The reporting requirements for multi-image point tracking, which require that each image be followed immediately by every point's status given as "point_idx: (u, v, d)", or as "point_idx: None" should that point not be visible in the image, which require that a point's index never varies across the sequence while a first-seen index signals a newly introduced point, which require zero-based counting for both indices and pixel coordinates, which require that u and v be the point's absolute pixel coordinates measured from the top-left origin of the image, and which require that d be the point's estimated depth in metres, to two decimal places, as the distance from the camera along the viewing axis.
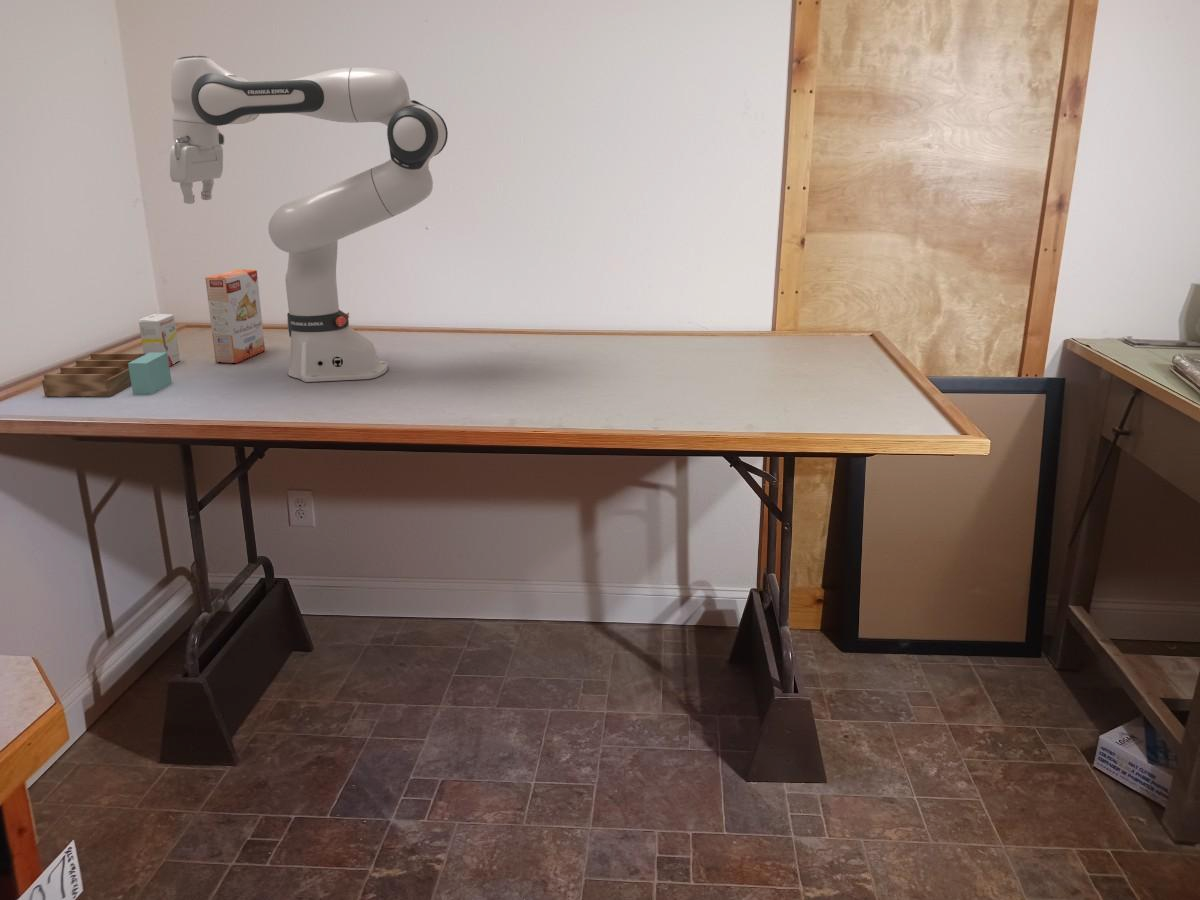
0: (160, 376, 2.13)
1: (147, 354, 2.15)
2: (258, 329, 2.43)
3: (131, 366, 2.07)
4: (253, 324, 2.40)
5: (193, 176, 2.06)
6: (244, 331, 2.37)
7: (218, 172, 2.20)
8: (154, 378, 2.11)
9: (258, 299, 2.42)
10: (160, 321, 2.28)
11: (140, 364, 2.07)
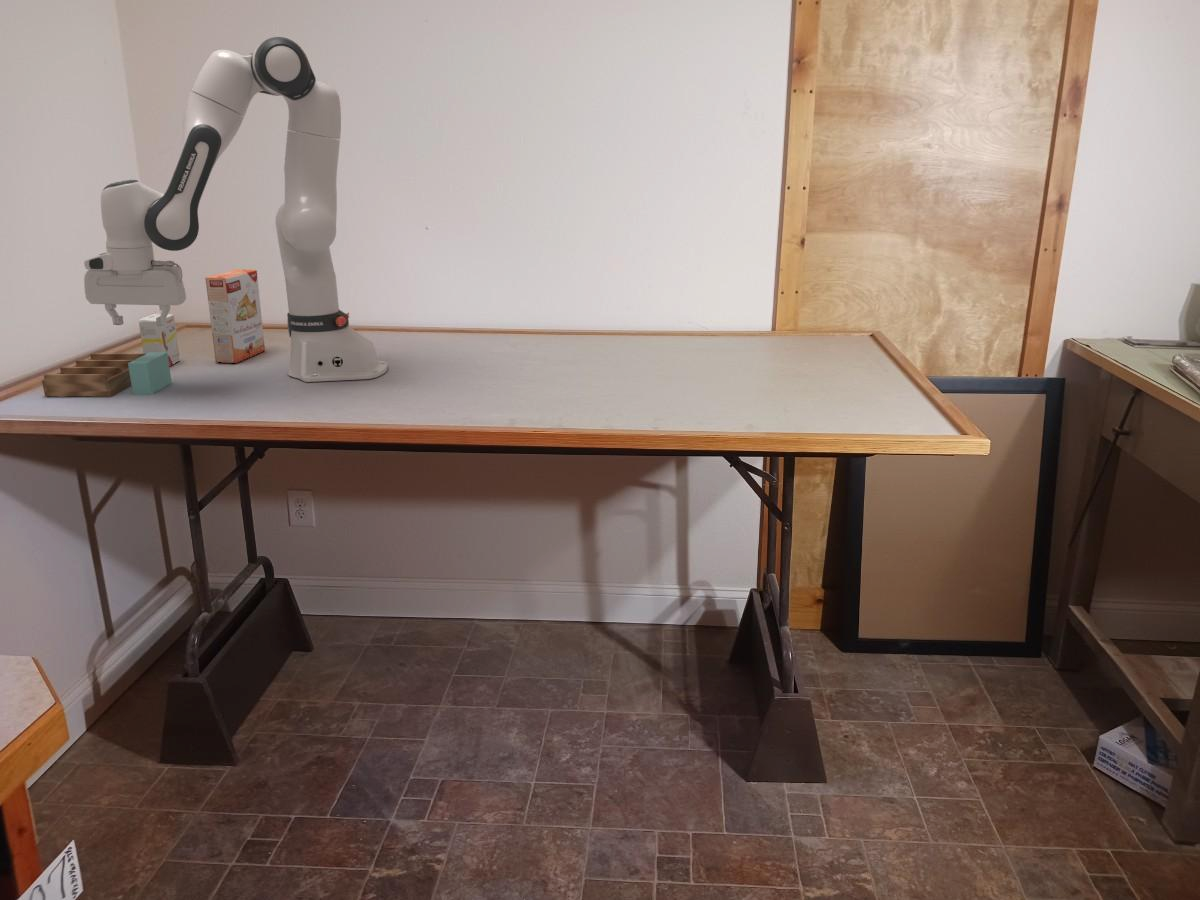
0: (160, 376, 2.13)
1: (147, 354, 2.15)
2: (258, 329, 2.43)
3: (131, 366, 2.07)
4: (253, 324, 2.40)
5: None
6: (244, 331, 2.37)
7: None
8: (154, 378, 2.11)
9: (258, 299, 2.42)
10: None
11: (140, 364, 2.07)
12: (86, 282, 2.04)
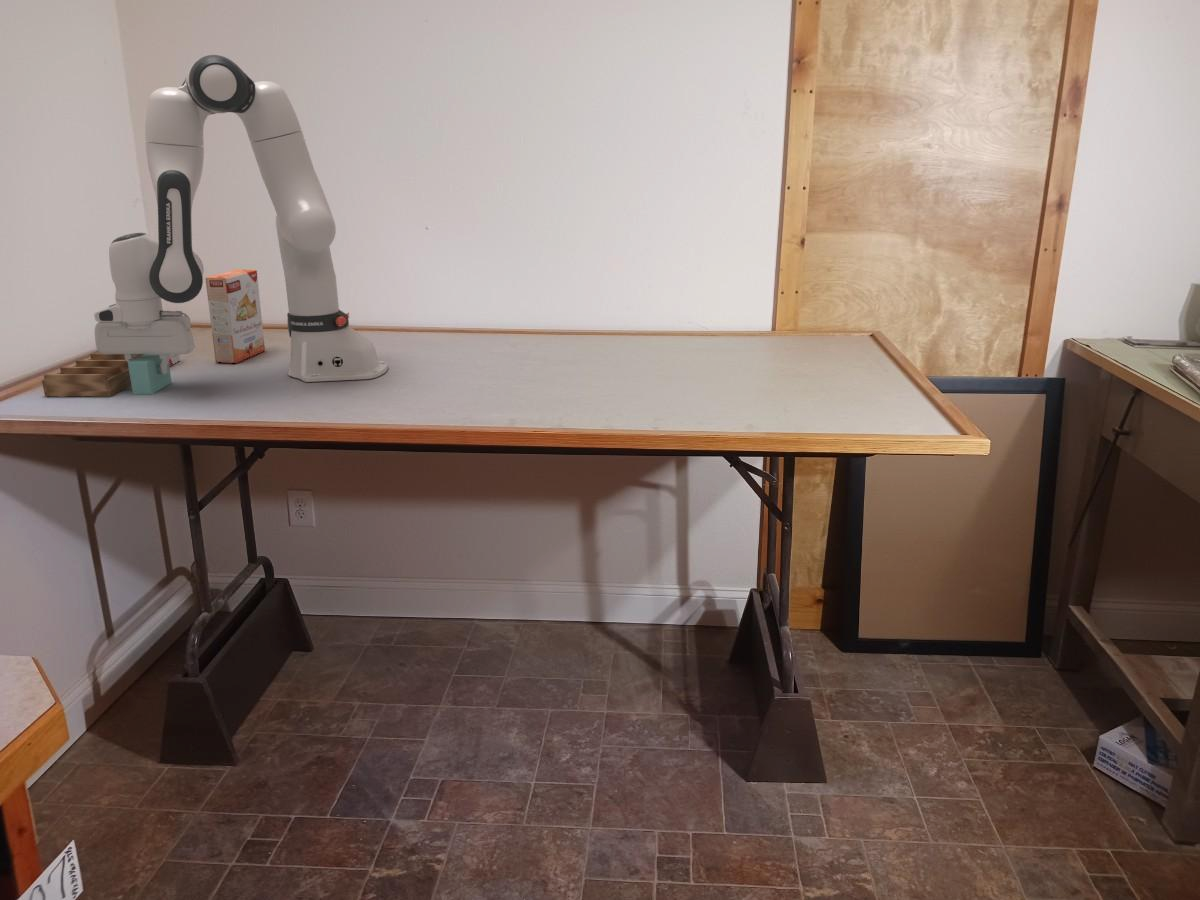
0: (160, 375, 2.13)
1: None
2: (258, 329, 2.43)
3: (131, 365, 2.07)
4: (253, 324, 2.40)
5: None
6: (244, 331, 2.37)
7: None
8: (154, 378, 2.10)
9: (258, 299, 2.42)
10: None
11: (140, 363, 2.07)
12: (96, 333, 2.08)
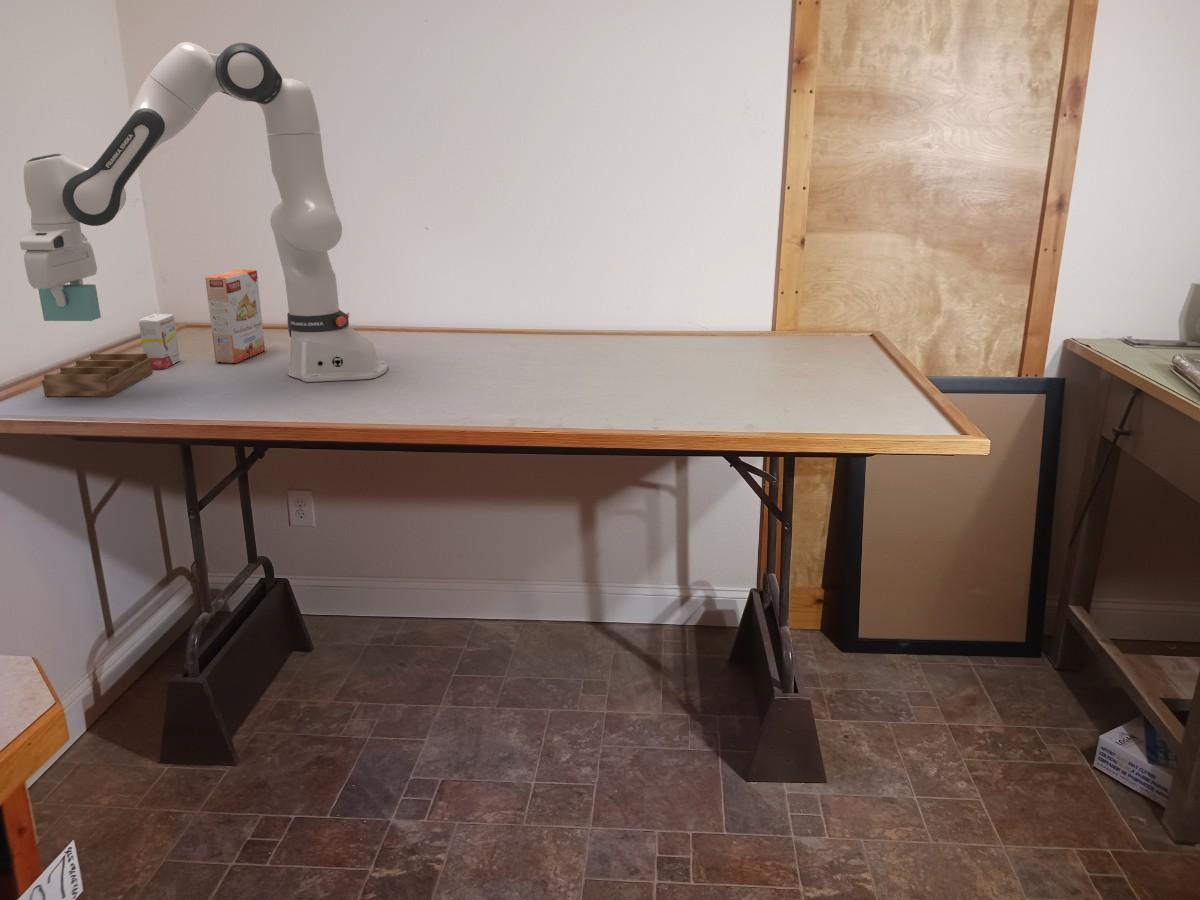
0: None
1: None
2: (258, 329, 2.43)
3: (87, 290, 2.02)
4: (253, 324, 2.40)
5: None
6: (244, 331, 2.37)
7: None
8: None
9: (258, 299, 2.42)
10: (160, 321, 2.28)
11: (92, 286, 2.04)
12: (48, 264, 1.93)
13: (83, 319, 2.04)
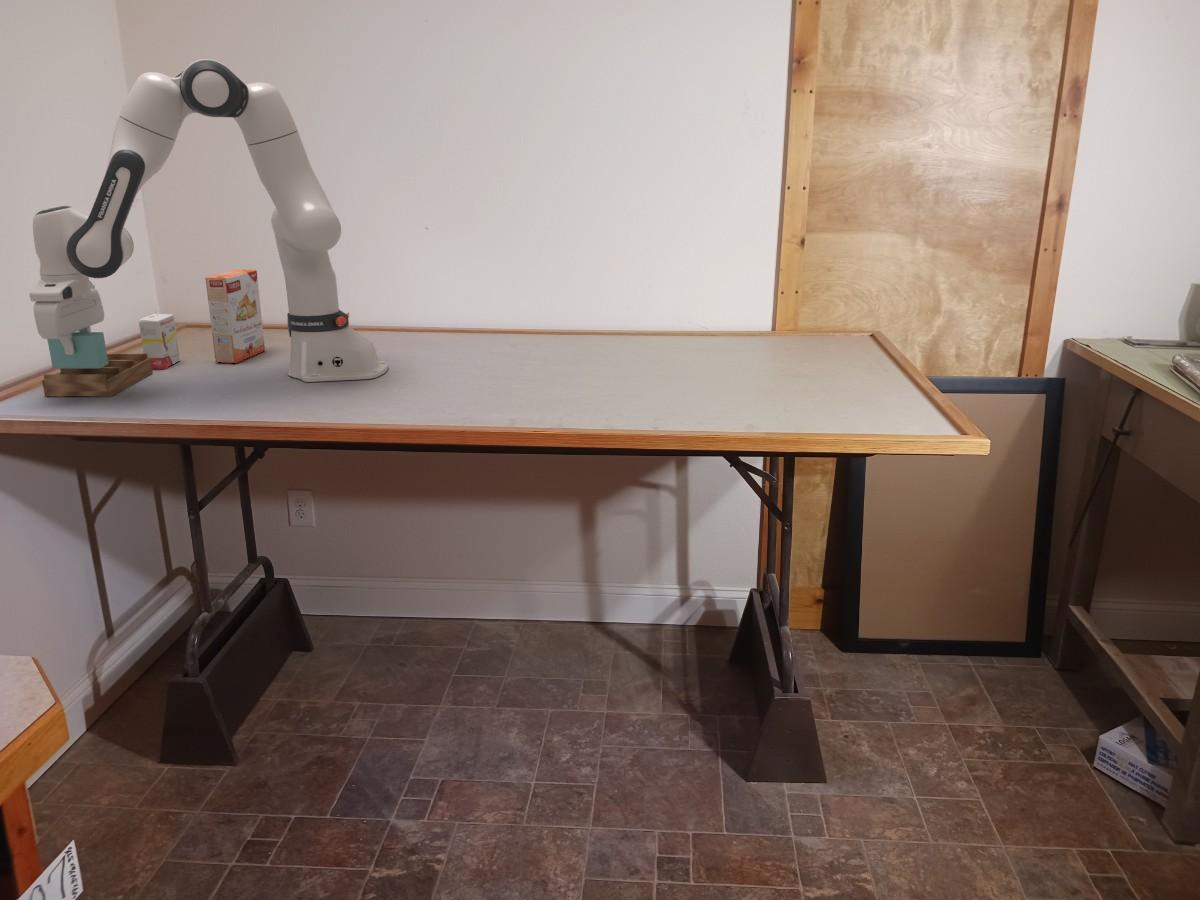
0: None
1: None
2: (258, 329, 2.43)
3: (95, 338, 2.06)
4: (253, 324, 2.40)
5: None
6: (244, 331, 2.37)
7: None
8: None
9: (258, 299, 2.42)
10: (160, 321, 2.28)
11: (100, 334, 2.07)
12: (57, 315, 1.96)
13: (91, 367, 2.07)
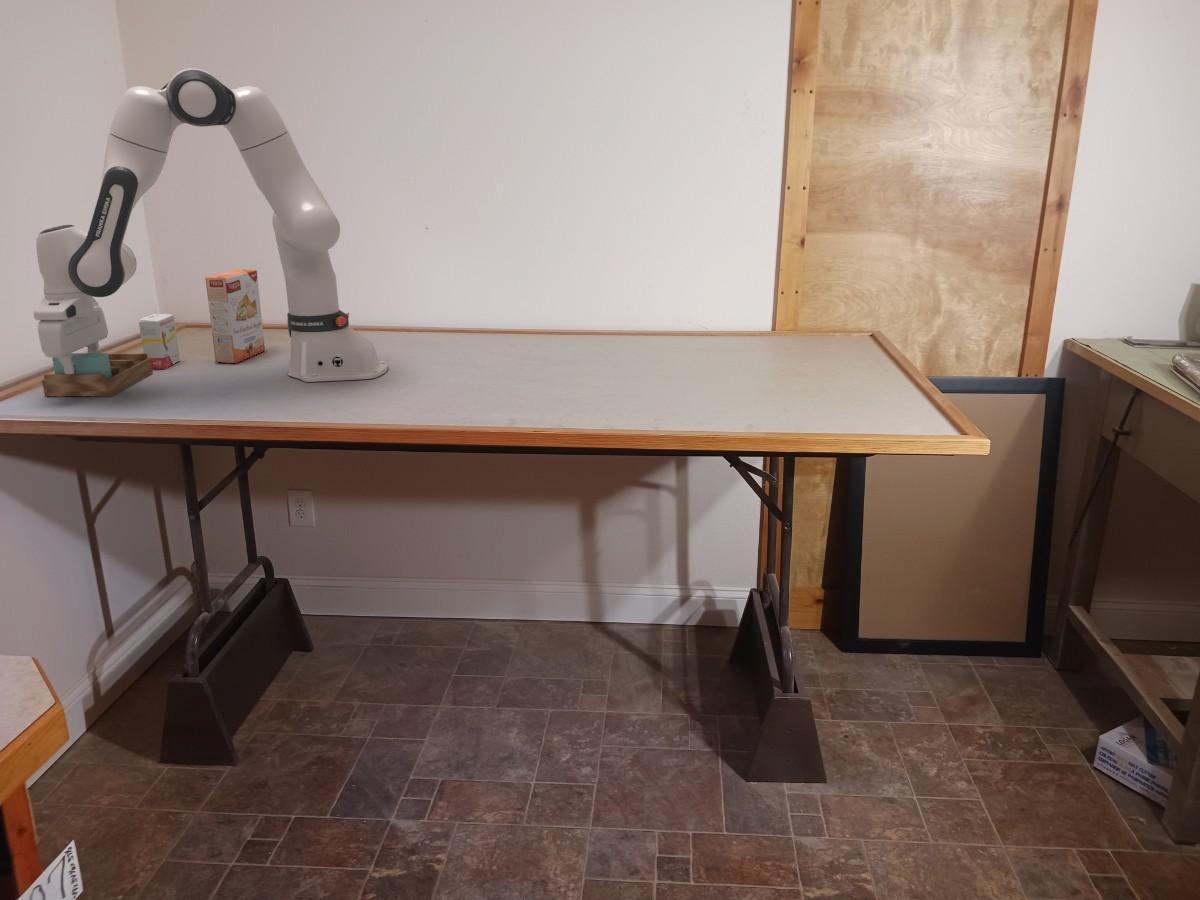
0: None
1: None
2: (258, 329, 2.43)
3: (100, 360, 2.07)
4: (253, 324, 2.40)
5: None
6: (244, 331, 2.37)
7: None
8: None
9: (258, 299, 2.42)
10: (160, 321, 2.28)
11: (105, 355, 2.09)
12: (61, 334, 1.98)
13: None
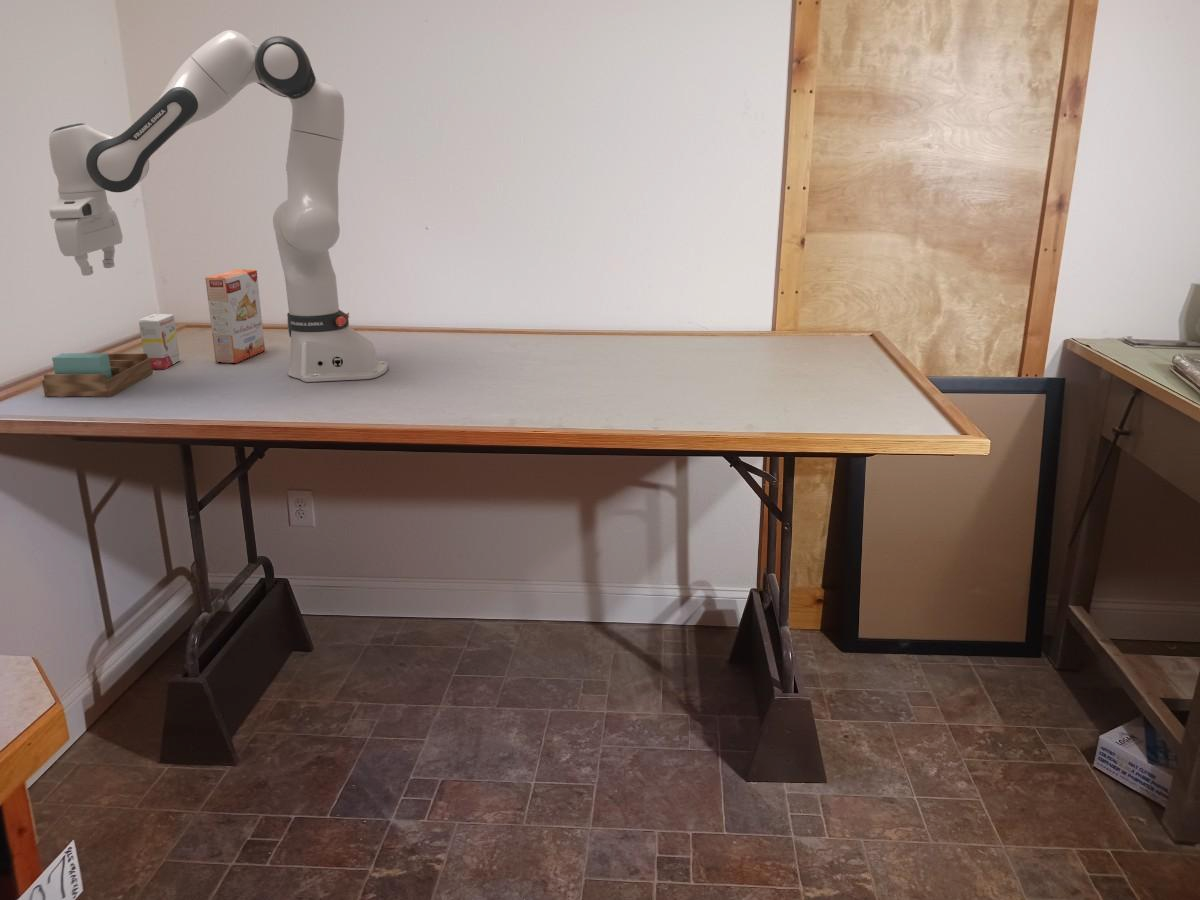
0: None
1: (61, 357, 2.07)
2: (258, 329, 2.43)
3: (100, 360, 2.07)
4: (253, 324, 2.40)
5: None
6: (244, 331, 2.37)
7: None
8: None
9: (258, 299, 2.42)
10: (160, 321, 2.28)
11: (105, 355, 2.09)
12: (78, 232, 1.98)
13: None
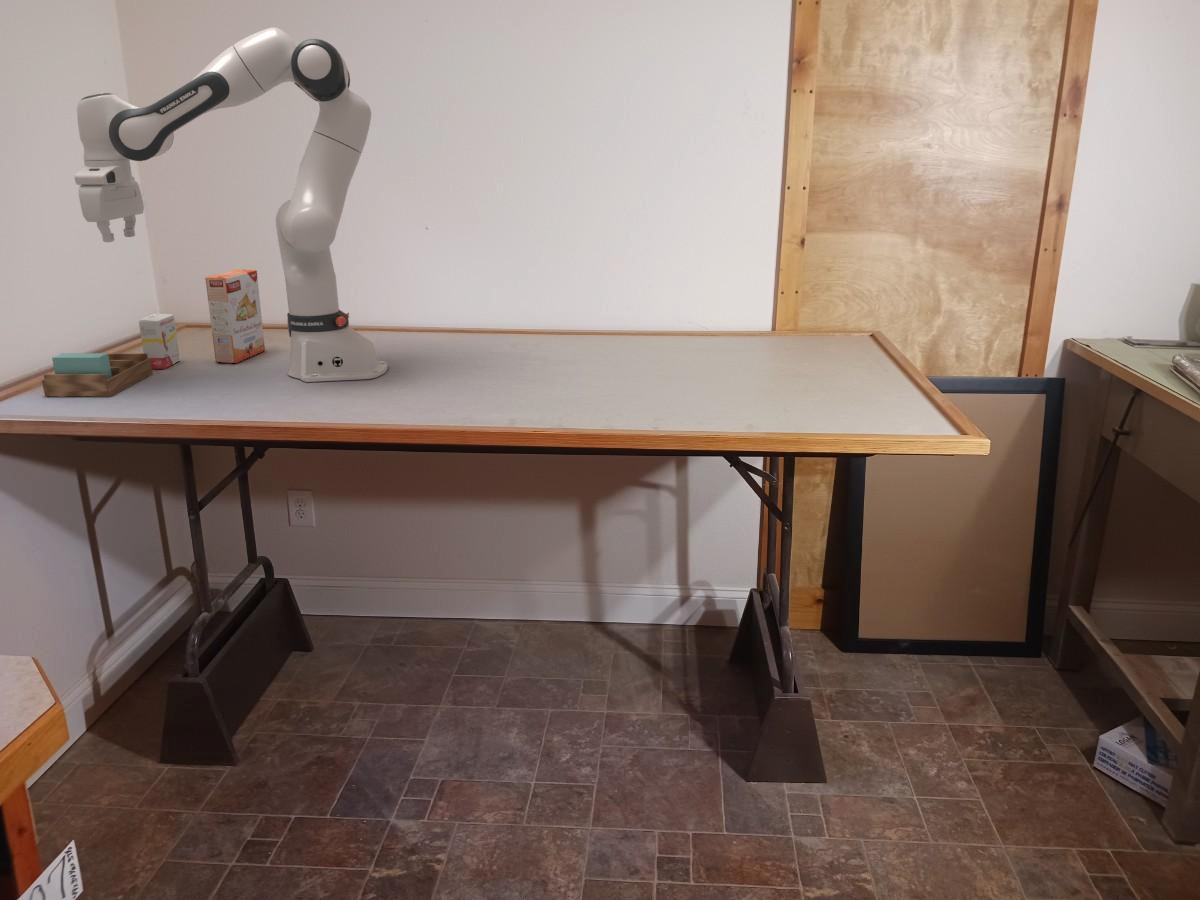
0: None
1: (61, 357, 2.07)
2: (258, 329, 2.43)
3: (100, 360, 2.07)
4: (253, 324, 2.40)
5: None
6: (244, 331, 2.37)
7: None
8: None
9: (258, 299, 2.42)
10: (160, 321, 2.28)
11: (105, 355, 2.09)
12: (101, 198, 2.02)
13: None
